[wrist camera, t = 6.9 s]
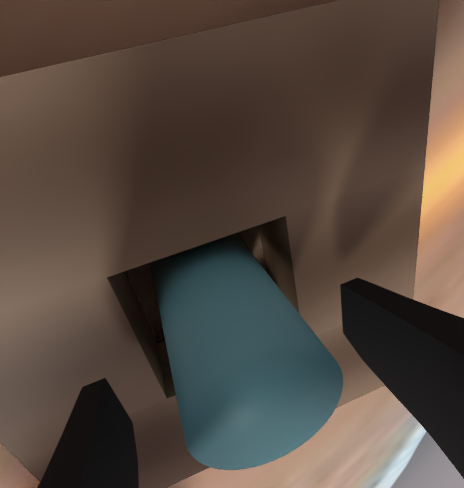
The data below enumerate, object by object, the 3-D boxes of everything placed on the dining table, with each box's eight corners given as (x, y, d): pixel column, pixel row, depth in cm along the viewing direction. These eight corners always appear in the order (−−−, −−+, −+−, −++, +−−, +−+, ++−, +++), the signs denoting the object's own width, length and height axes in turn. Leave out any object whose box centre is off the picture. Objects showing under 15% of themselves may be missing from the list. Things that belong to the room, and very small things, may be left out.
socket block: (367, 335, 19) (406, 375, 17) (88, 455, 16) (84, 525, 14) (366, 0, 11) (441, -24, 9) (-174, 125, 8) (-300, 144, 6)
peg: (254, 287, 15) (347, 424, 9) (170, 320, 14) (211, 491, 8) (235, 209, 13) (337, 318, 7) (137, 244, 12) (158, 396, 6)
